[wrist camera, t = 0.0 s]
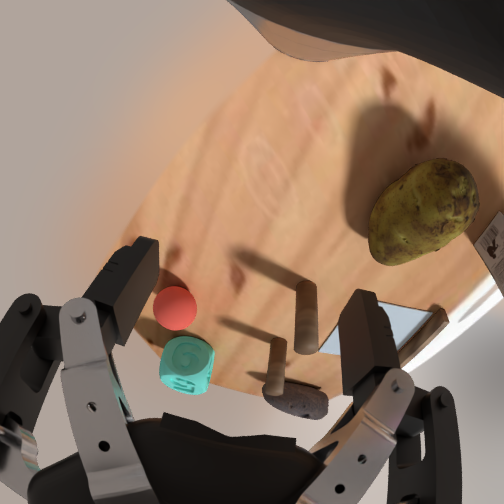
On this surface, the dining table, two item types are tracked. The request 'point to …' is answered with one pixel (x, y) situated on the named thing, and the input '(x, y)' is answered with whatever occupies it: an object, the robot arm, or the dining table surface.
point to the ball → (174, 308)
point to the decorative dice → (187, 365)
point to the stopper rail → (423, 337)
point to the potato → (422, 211)
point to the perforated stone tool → (299, 401)
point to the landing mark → (401, 324)
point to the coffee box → (493, 249)
